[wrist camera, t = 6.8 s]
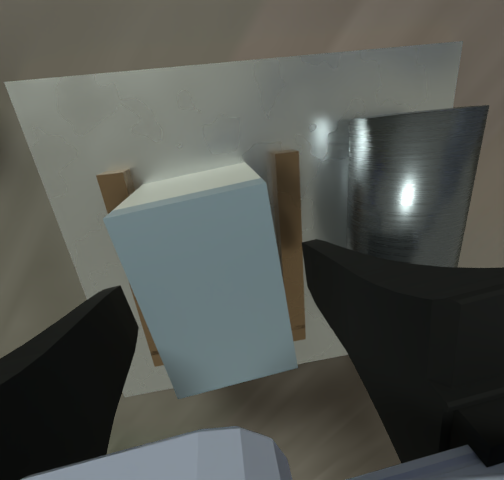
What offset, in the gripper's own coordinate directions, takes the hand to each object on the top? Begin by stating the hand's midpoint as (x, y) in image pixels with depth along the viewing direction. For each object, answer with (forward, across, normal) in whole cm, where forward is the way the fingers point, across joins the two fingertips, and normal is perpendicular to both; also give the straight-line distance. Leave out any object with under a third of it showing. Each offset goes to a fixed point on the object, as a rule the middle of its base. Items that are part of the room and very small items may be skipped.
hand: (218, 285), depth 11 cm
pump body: (+3, 0, 0) cm, 3 cm away
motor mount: (+4, -2, 0) cm, 5 cm away
